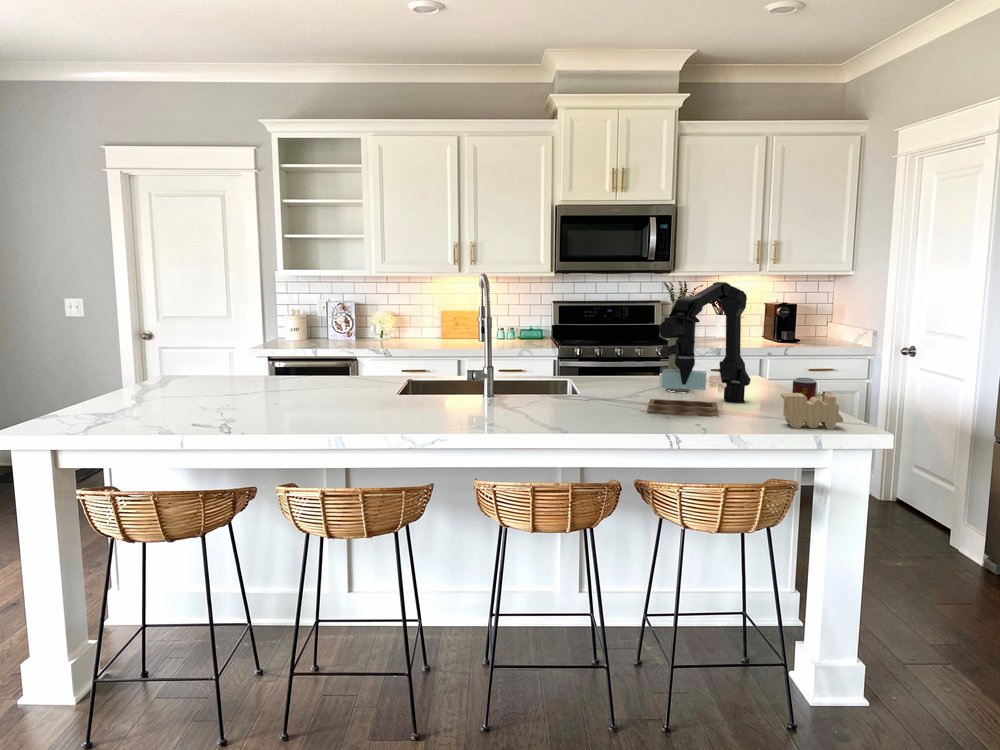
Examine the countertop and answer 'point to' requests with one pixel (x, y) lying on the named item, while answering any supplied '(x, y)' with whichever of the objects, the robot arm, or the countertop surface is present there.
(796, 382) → the soda can
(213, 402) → the countertop surface
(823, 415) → the toy train
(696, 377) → the pale blue block
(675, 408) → the tray
